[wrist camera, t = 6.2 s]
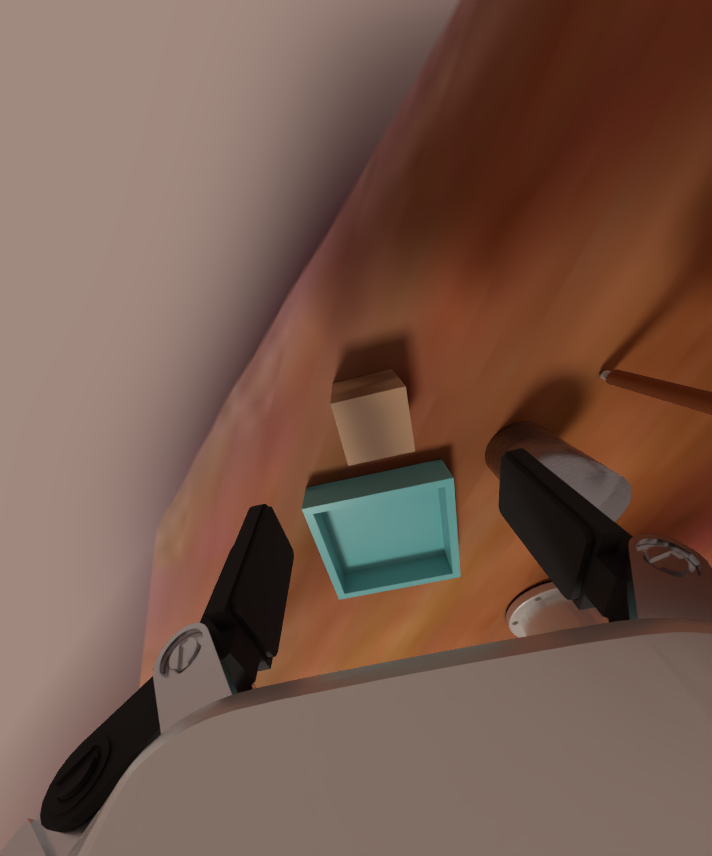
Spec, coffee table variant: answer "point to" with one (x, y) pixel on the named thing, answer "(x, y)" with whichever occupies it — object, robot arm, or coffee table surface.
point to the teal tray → (386, 528)
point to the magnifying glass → (661, 390)
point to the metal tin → (563, 465)
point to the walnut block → (372, 417)
